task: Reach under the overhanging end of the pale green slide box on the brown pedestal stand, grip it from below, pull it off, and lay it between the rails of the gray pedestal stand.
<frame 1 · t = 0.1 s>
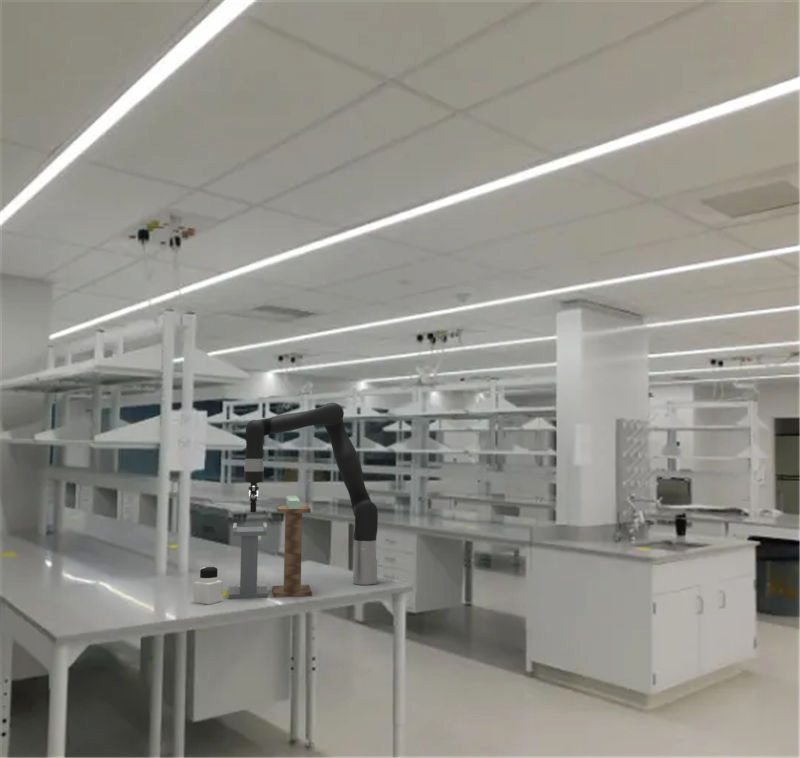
hand: (253, 511, 292), 29 cm above the table, tool pointing down, fingers open, 8 cm apart
brown pedestal stand: (291, 592, 278), on the table
gray pedestal stand: (248, 594, 275), on the table
medicine bottle: (207, 602, 262), on the table
slide box: (292, 506, 286), point 32 cm above the table, touching brown pedestal stand
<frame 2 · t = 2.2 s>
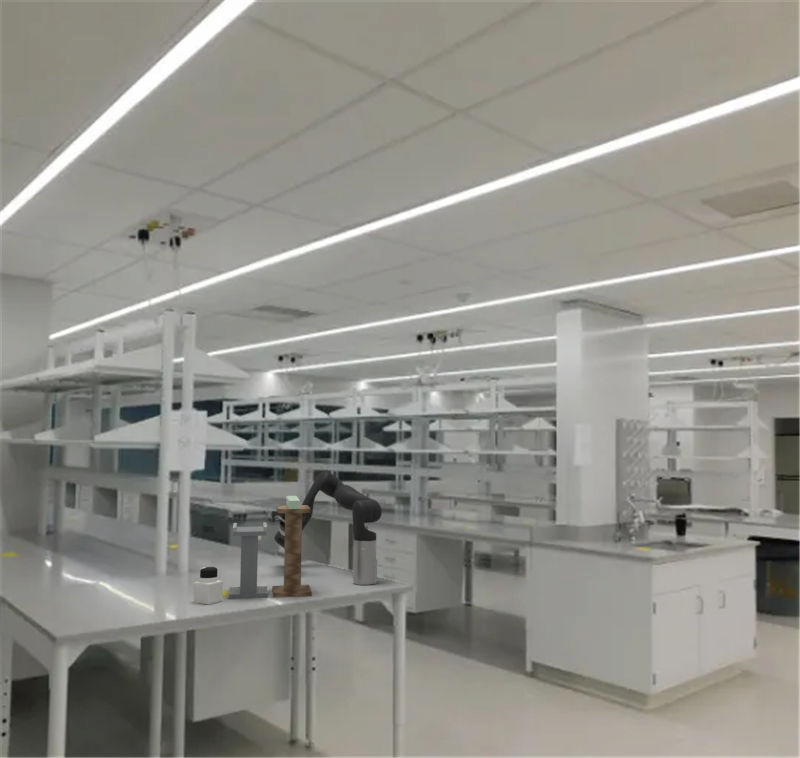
hand: (289, 508, 309), 29 cm above the table, tool pointing upward, fingers open, 8 cm apart
nothing on the table moved.
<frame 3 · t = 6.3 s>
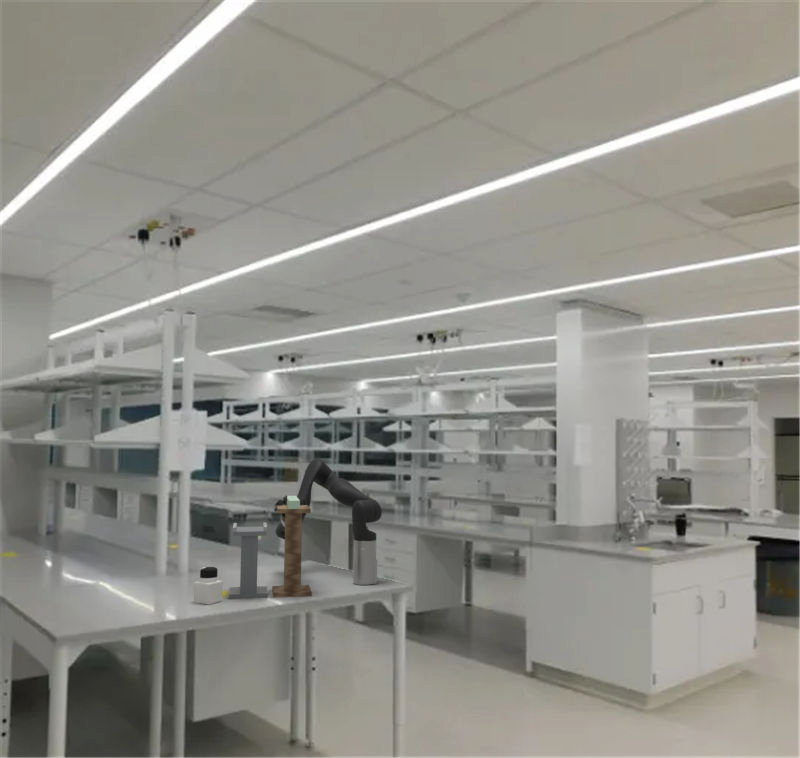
hand: (292, 497, 291), 35 cm above the table, tool pointing upward, fingers closed on slide box, 4 cm apart
slide box: (292, 506, 286), point 32 cm above the table, touching gripper, brown pedestal stand
everything else where it was.
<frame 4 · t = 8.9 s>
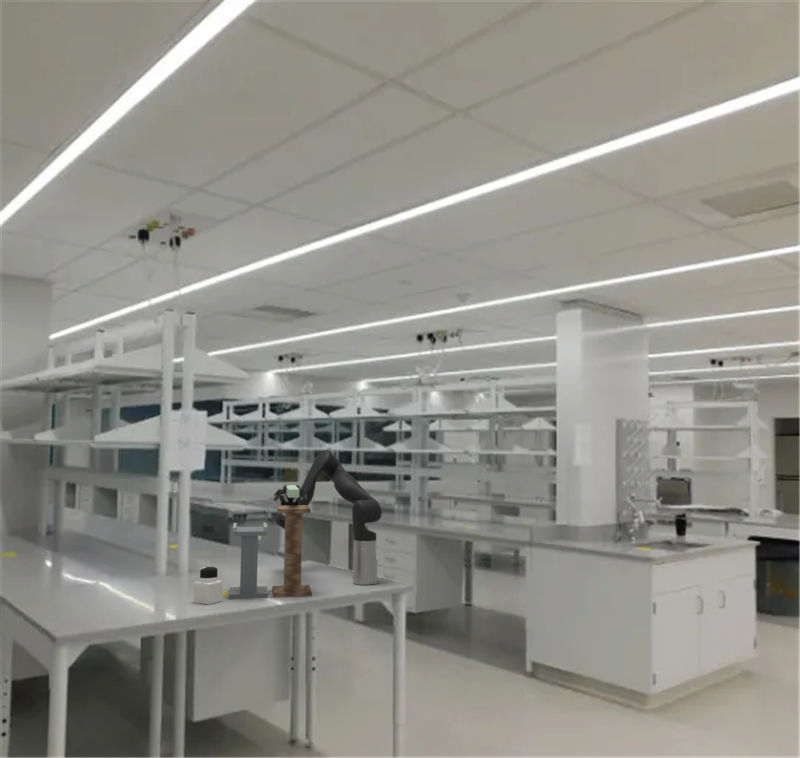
hand: (291, 486, 296), 39 cm above the table, tool pointing upward, fingers closed on slide box, 4 cm apart
slide box: (292, 495, 291), point 36 cm above the table, touching gripper
everything else where it was.
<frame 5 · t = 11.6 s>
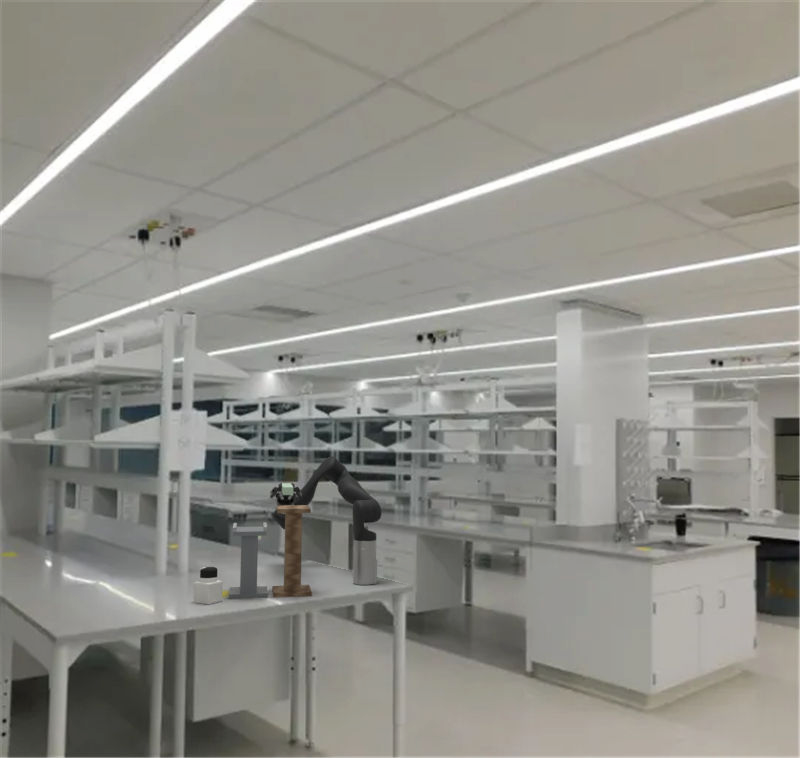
hand: (286, 484, 310), 39 cm above the table, tool pointing upward, fingers closed on slide box, 4 cm apart
slide box: (286, 492, 305), point 36 cm above the table, touching gripper
everything else where it was.
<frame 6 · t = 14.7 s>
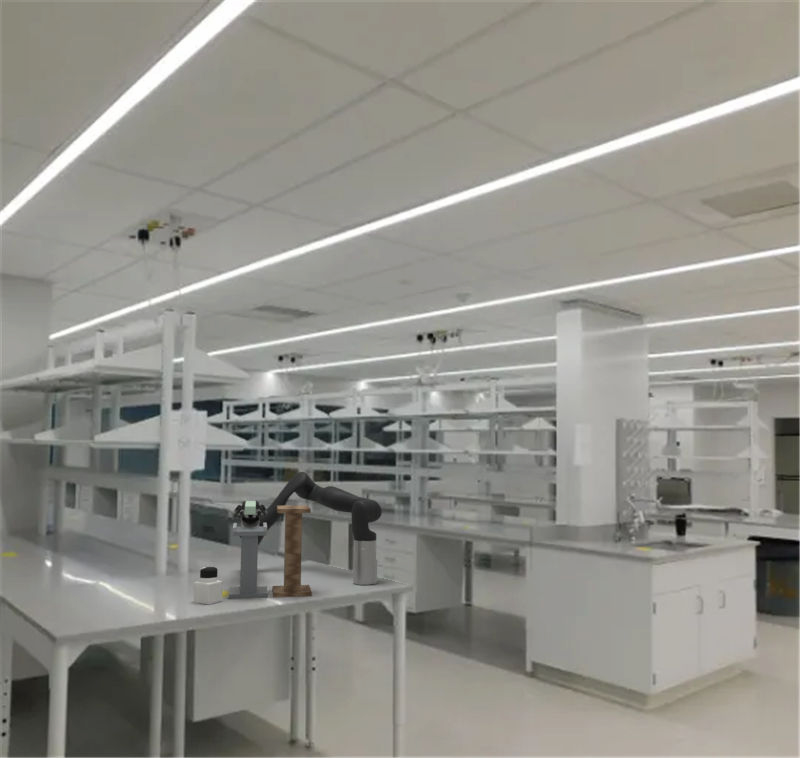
hand: (250, 502, 295), 32 cm above the table, tool pointing upward, fingers closed on slide box, 4 cm apart
slide box: (250, 511, 291), point 29 cm above the table, touching gripper
everything else where it was.
when the fingers open (28 cm above the table, at t = 17.3 s): slide box drops 1 cm, resting on gray pedestal stand.
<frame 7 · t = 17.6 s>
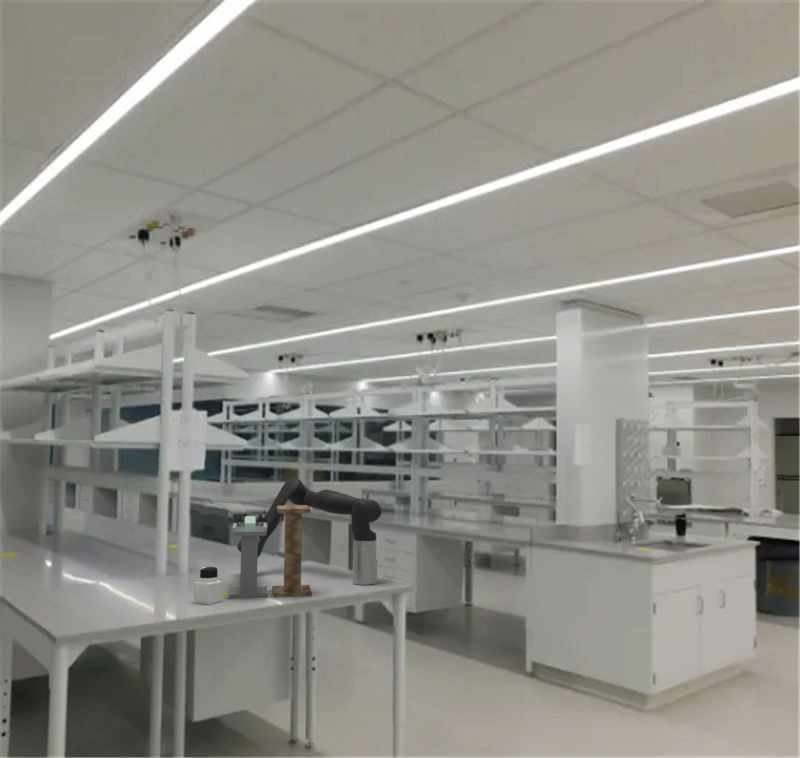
hand: (250, 515, 287), 28 cm above the table, tool pointing upward, fingers open, 6 cm apart
slide box: (250, 527, 282), point 24 cm above the table, touching gray pedestal stand
everything else where it was.
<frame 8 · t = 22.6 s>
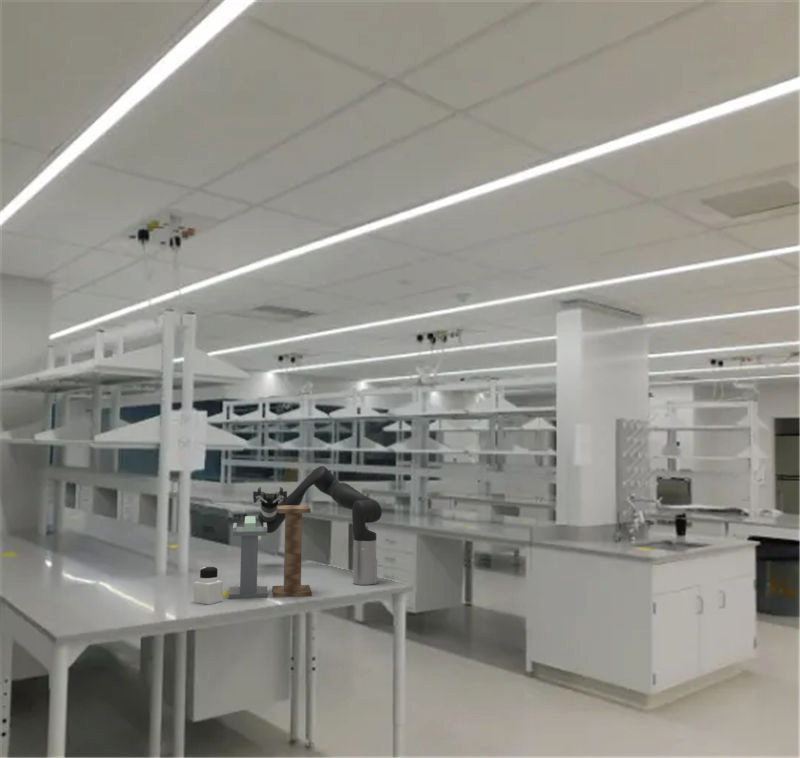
hand: (270, 489, 311), 37 cm above the table, tool pointing upward, fingers open, 8 cm apart
nothing on the table moved.
at the end: slide box inside the target area on the gray pedestal stand (0.1 cm from its centre), point 24.0 cm above the gray pedestal stand's base; slide box touching gray pedestal stand; the gripper is holding nothing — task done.
